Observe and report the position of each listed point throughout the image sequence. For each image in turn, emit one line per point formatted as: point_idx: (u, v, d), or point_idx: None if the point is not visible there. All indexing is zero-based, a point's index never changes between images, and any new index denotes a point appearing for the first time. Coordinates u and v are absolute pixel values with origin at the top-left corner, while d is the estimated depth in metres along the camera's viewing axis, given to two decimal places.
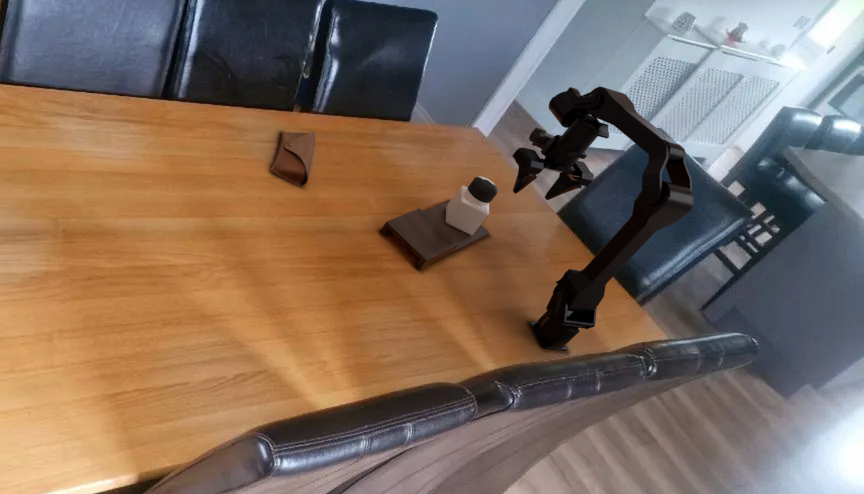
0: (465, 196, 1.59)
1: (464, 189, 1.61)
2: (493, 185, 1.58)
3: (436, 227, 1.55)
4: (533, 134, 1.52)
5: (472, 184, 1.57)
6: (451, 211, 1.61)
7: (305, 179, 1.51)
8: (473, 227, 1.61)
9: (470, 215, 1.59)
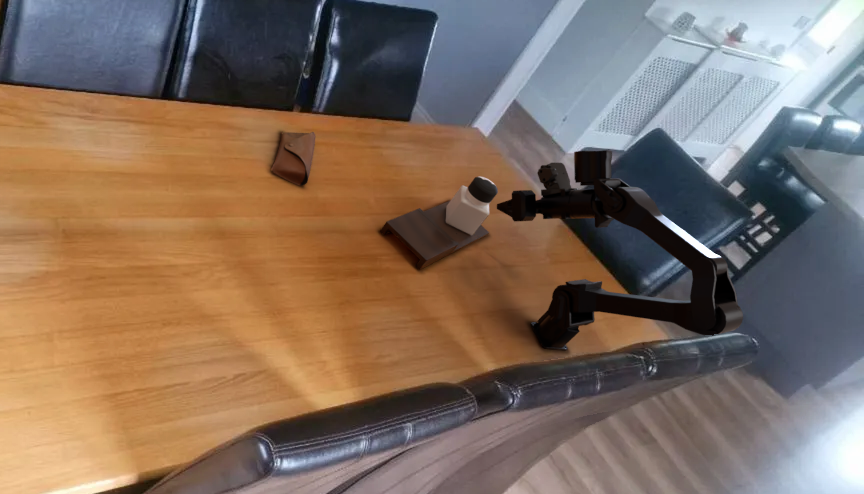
0: (465, 196, 1.59)
1: (464, 189, 1.61)
2: (493, 185, 1.58)
3: (436, 227, 1.55)
4: (544, 172, 1.40)
5: (472, 184, 1.57)
6: (451, 211, 1.61)
7: (305, 179, 1.51)
8: (473, 227, 1.61)
9: (470, 215, 1.59)
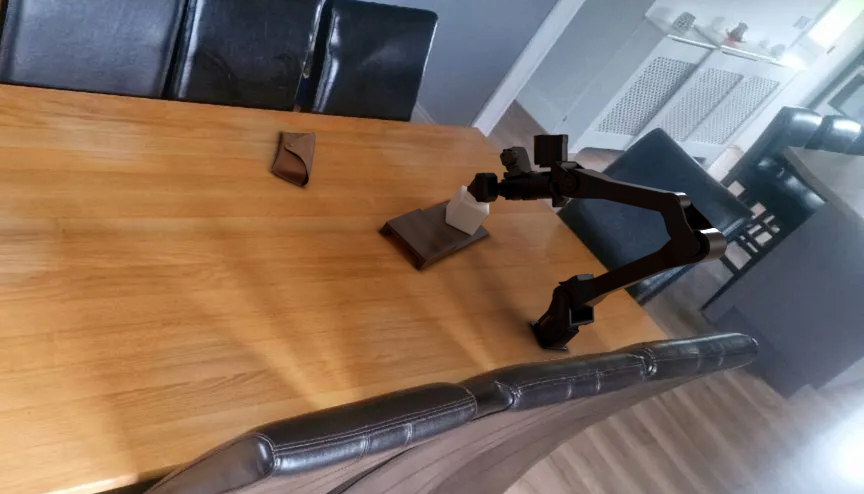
0: (465, 196, 1.59)
1: (464, 189, 1.61)
2: None
3: (436, 227, 1.55)
4: (505, 155, 1.48)
5: None
6: (451, 211, 1.61)
7: (306, 179, 1.51)
8: (473, 227, 1.61)
9: (469, 215, 1.59)
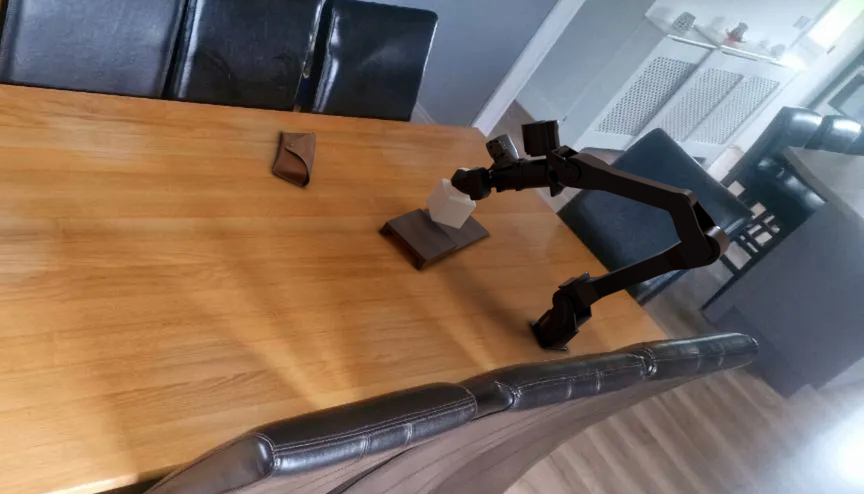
0: (449, 191, 1.51)
1: (445, 182, 1.53)
2: None
3: (436, 227, 1.55)
4: (494, 148, 1.40)
5: (456, 178, 1.50)
6: (436, 207, 1.53)
7: (307, 180, 1.51)
8: (460, 220, 1.54)
9: (457, 209, 1.52)
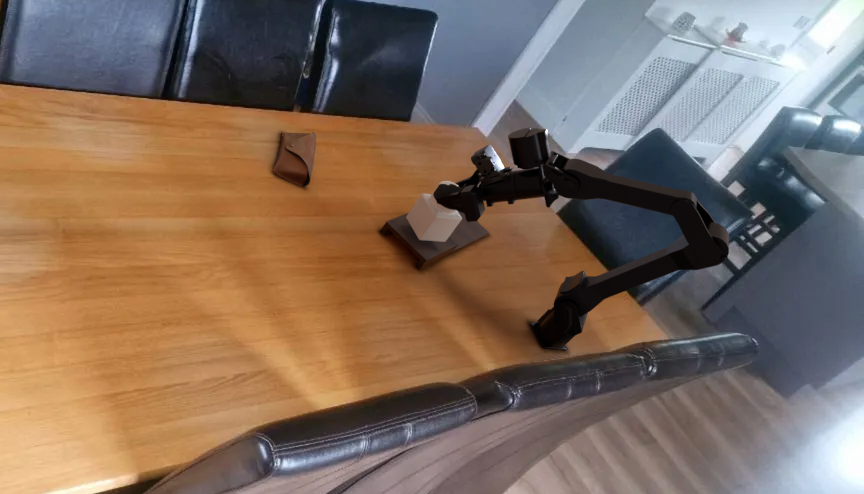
0: (434, 208, 1.44)
1: (427, 198, 1.46)
2: (459, 187, 1.44)
3: None
4: (483, 164, 1.33)
5: (441, 195, 1.42)
6: (421, 226, 1.46)
7: (307, 180, 1.51)
8: (446, 234, 1.48)
9: (443, 225, 1.45)
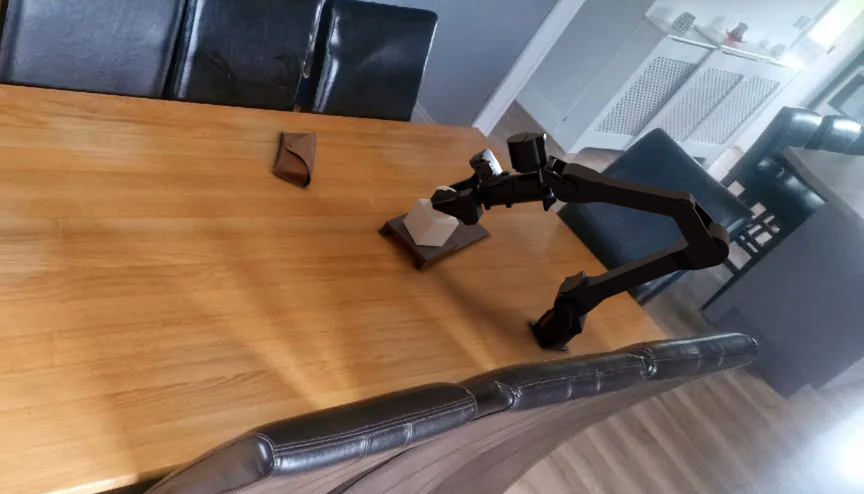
0: (432, 213, 1.44)
1: (424, 203, 1.46)
2: (456, 193, 1.44)
3: None
4: (482, 168, 1.33)
5: (438, 200, 1.42)
6: (418, 231, 1.46)
7: (308, 180, 1.51)
8: (443, 239, 1.48)
9: (440, 230, 1.46)
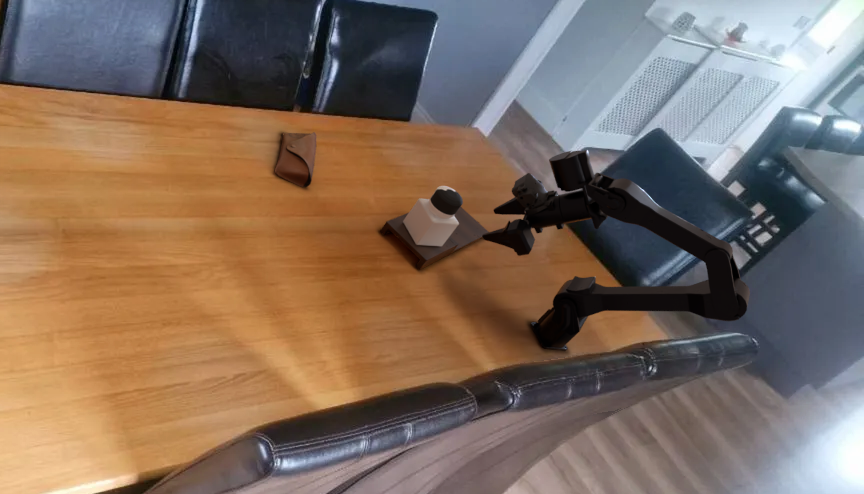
0: (432, 213, 1.44)
1: (424, 203, 1.46)
2: (456, 193, 1.44)
3: None
4: (525, 198, 1.33)
5: (438, 200, 1.42)
6: (418, 231, 1.46)
7: (309, 180, 1.51)
8: (443, 239, 1.48)
9: (440, 230, 1.46)
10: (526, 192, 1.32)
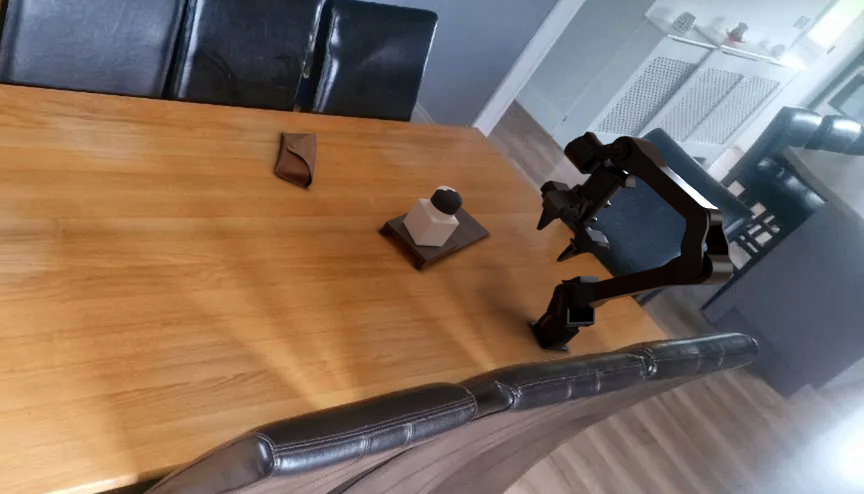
0: (432, 213, 1.44)
1: (424, 203, 1.46)
2: (456, 193, 1.44)
3: None
4: (568, 216, 1.35)
5: (438, 200, 1.42)
6: (418, 231, 1.46)
7: (309, 181, 1.51)
8: (443, 239, 1.48)
9: (440, 230, 1.46)
10: (565, 211, 1.35)
